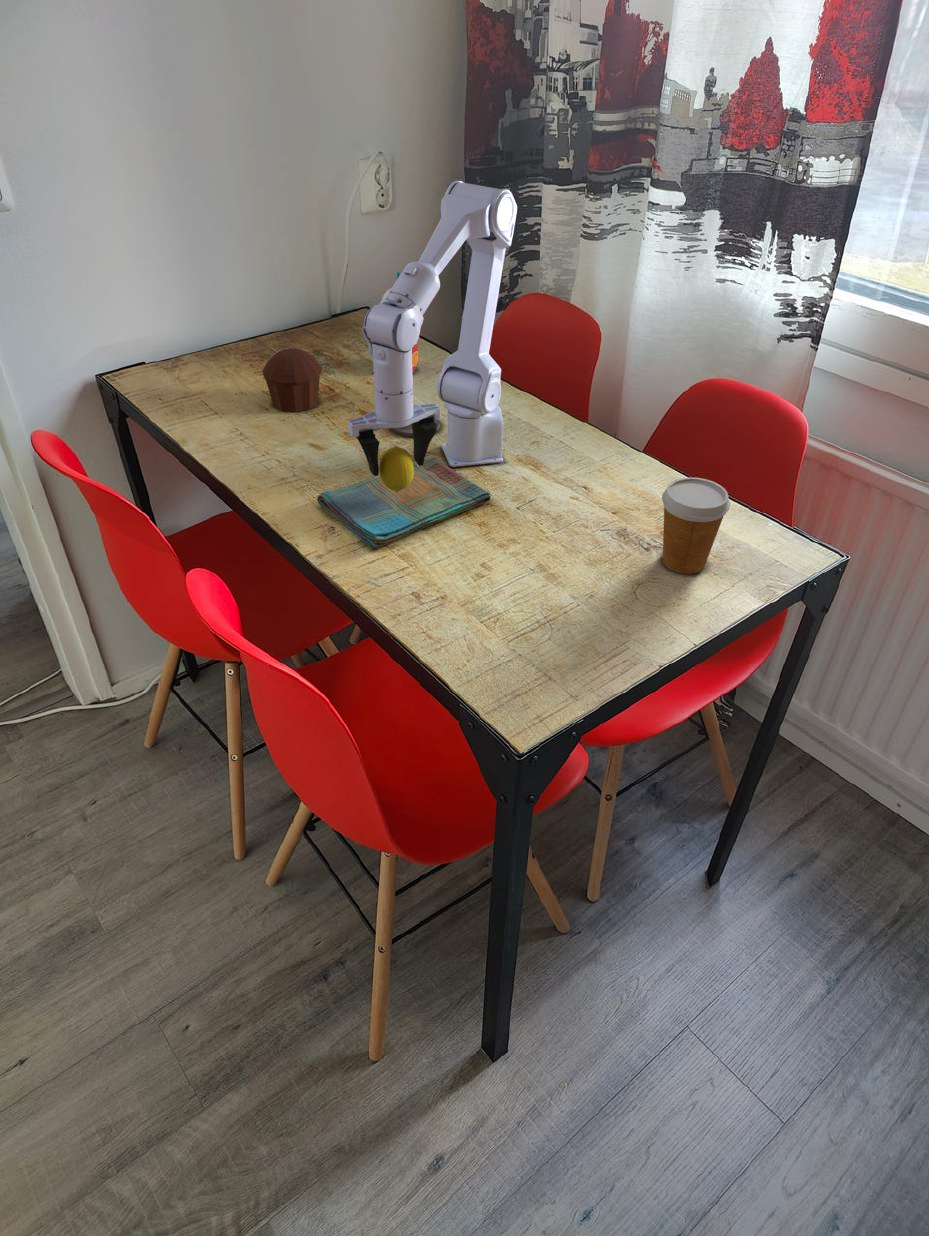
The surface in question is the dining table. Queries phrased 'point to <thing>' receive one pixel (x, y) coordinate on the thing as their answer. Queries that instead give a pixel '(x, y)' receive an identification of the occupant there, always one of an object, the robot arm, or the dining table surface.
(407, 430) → the slate coaster
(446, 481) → the dish towel
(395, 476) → the lemon
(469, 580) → the dining table surface
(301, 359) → the muffin
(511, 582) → the dining table surface
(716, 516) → the disposable coffee cup
